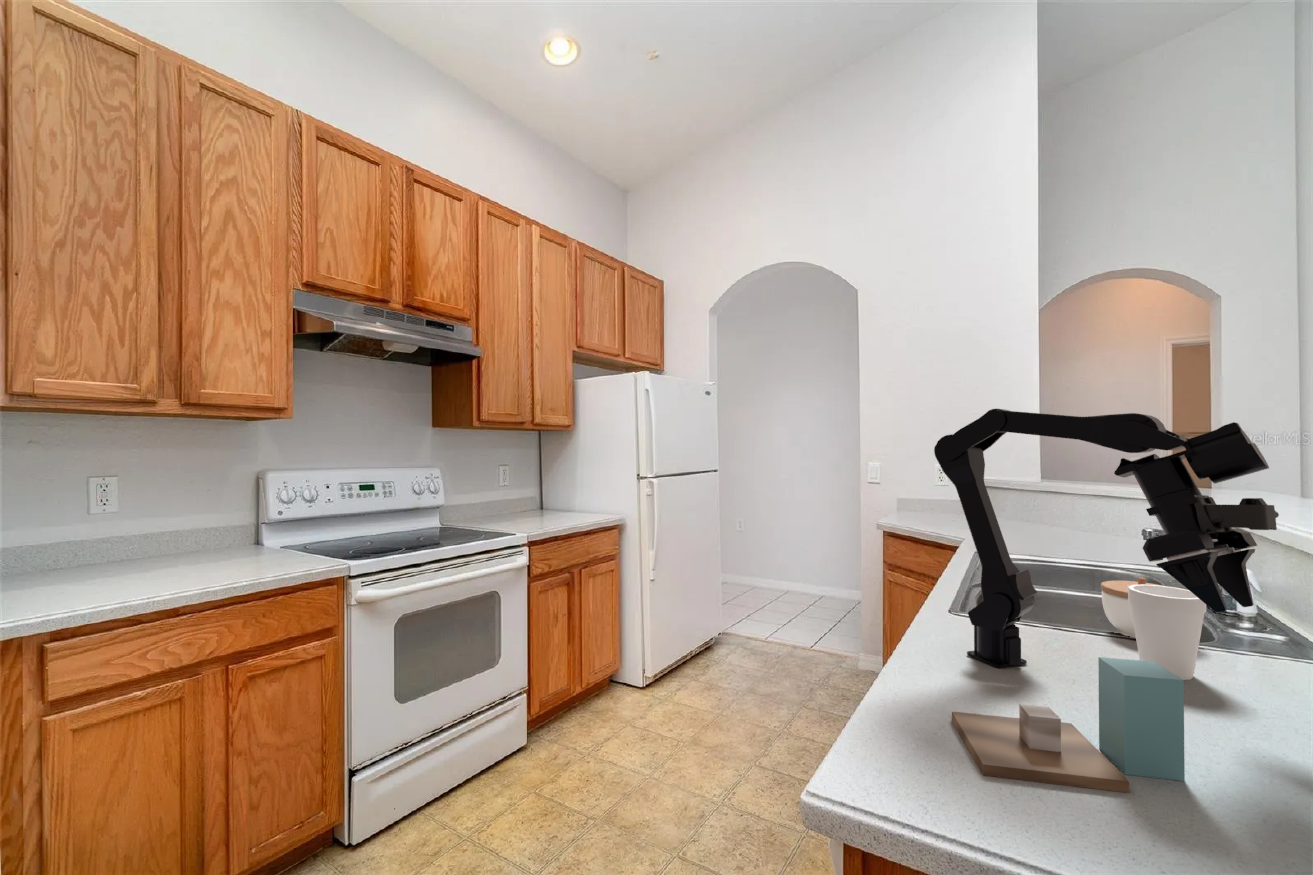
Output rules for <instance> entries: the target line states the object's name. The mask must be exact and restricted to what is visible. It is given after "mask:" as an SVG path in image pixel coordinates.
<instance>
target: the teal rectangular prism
mask: <svg viewBox="0 0 1313 875" xmlns="http://www.w3.org/2000/svg"><path fill="white" fill-rule="evenodd" d="M1097 657H1098V656H1097ZM1184 682H1185V680H1183V679H1181V678H1179V677H1178V676H1176V675H1174V674H1173V673H1171V672H1169V671H1168V670H1166V669H1165V668H1163V667H1161V666H1160V665H1158V664H1156V663H1155V662H1153V661H1142V660H1140V659H1127V658H1126V659H1125V658H1113V657H1112V658H1111V657H1098V744H1099V745H1098V748H1099V749H1098V750H1100V752H1101V753H1102V754H1104V755H1105V757H1106V758H1107V759H1109V761H1111V763H1112V764H1113V765H1114V766H1115V767H1116V768H1118V770H1119V771H1120V772H1122V774H1124V775H1129V776H1136V777H1137V776H1138V777H1145V778H1153V779H1154V778H1155V779H1161V780H1162V779H1164V780H1173V781H1182V782H1185V774H1186V773H1185V772H1186V771H1185V769H1186V768H1185V687H1184V686H1185V685H1184Z"/></svg>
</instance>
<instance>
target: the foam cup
mask: <svg viewBox="0 0 1313 875" xmlns="http://www.w3.org/2000/svg"><path fill="white" fill-rule="evenodd" d="M1160 585H1161V584H1157V585H1145V584H1142V585H1131V586H1128V601H1129V602H1130V605H1131V611H1132V617H1133V623H1134V629H1135V635H1136V646H1137V653H1138V658H1139V659H1138V660H1142V661H1153V662H1155V663H1156V664H1158V665H1160V666H1161V667H1163V668H1165V669H1166V670H1168V671H1169V672H1171V673H1173V674H1174V675H1176V676H1178V677H1179V678H1181V679H1183V680H1184V681H1188V680H1189V681H1190V680H1192V679H1194V674H1195V670H1196V665H1197V658H1198V653H1199V648H1200V641H1201V640H1200V639H1201V635H1202V628H1203V624H1204V619H1205V618H1204V617H1205V613H1207V605H1206V604H1205V603H1204V602H1203V601H1201V600H1200V599H1199V598H1198V597H1197V596H1195V595H1194V594H1193V593H1192V592H1191V591H1189V590H1188V589H1187V588H1186V589H1185V588H1179V587H1174V586H1166V585H1163V586H1160Z"/></svg>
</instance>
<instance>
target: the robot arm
mask: <svg viewBox="0 0 1313 875" xmlns="http://www.w3.org/2000/svg"><path fill="white" fill-rule="evenodd" d="M1006 433H1012V434H1013V433H1014V434H1021V435H1024V434H1025V435H1032V436H1039V437H1040V436H1041V437H1050V438H1051V437H1053V438H1060V439H1069V440H1077V441H1078V440H1080V441H1084V442H1087V443H1091V444H1093V445H1096V446H1097V445H1098V446H1101V447H1104V448H1108V449H1111V450H1116V451H1120V452H1124V453H1127V454H1128V453H1129V454H1141V453H1151V452H1154V451H1155V450H1161V451H1179V450H1182V449H1185V450H1182V451H1179V452H1176V453H1172V454H1170V455H1166V456H1162V457H1160V456H1159V455H1157V454H1156V453H1152V454H1149V455H1146V456H1144V457H1140V458H1138V459H1134V460H1129V459H1127V458H1124V457H1123V458H1121V459H1120V462H1119V465H1118V466H1117V468H1116V469H1115V470H1114V472H1113V473H1114V475H1115V476H1116V477H1117V476H1118V477H1120V478H1129V477H1132V476H1134V478H1135V479H1136V482H1137V483H1138V485H1139V487H1140V489H1141V490H1142V494H1143V495H1144V497H1145V498H1146V500H1147V502H1148V504H1149V506H1150V507H1148V508H1146V509H1145V511H1146V512H1147V514H1148V516H1150V517H1156V519H1157V522H1158V523H1159V525H1160V526H1161V528H1162V531H1163V532H1164V534H1163V535H1159V536H1154V537H1151V538H1147V539H1146V540H1145V542H1144V544H1143V546H1142V549H1143V552H1144V554H1145V556H1146V558H1147V560H1148V562H1150V563H1151V562H1159V563H1156V566H1157V567H1158V569H1159V568H1160V569H1162V570H1163V571H1164V572H1166V573H1167V574H1168V575H1169V576H1171V577H1172V578H1173V579H1175V580H1176V581H1177V582H1178V583H1179V584H1181V585H1182V586H1183V587H1184V588H1186V590H1189V591H1191V592H1192V593H1193V594H1194V595H1195V596H1197V597H1198V598H1199V599H1200V600H1201V601H1203V602H1204V603H1205V604H1206V607H1208V608H1209V609H1211V610H1212V611H1213V612H1214V613H1225V612H1227V606H1226V603H1225V600H1224V596H1223V594H1222V591H1221V588H1222V589H1224V590H1225V592H1227V594H1228V595H1230V597H1231V598H1232V599H1234V600H1235V601H1236V602H1237V603H1238V604H1239V605H1240V606H1241V607H1242V608H1249V607H1253V606H1254V599H1253V595H1252V591H1251V586H1250V581H1249V577H1248V571H1247V562H1248V560H1250V558H1251V557H1252V555H1254V554H1255V551H1256V548H1254V547H1257V546H1258V544H1257V542H1256V540H1255V539H1254V537H1253V536H1252V534H1251V532H1249V531H1246V530H1243V529H1249V530H1251V531H1254V530H1255V531H1269V530H1270V531H1272V530H1273V531H1276V530H1277V529H1278V527H1277V518H1279V512H1277V511H1276V510H1275V505H1274V504H1268V503H1267V502H1266V501H1265V500H1264V498H1262V497H1254V498H1253V497H1250V498H1249V497H1243V498H1242V499H1241V500H1240V502H1239V504H1217V502H1215V501H1216V500H1214V497H1211V496H1209V495H1203V494H1202V492H1201V491H1200V488H1199V487H1198V484H1196V482H1195V480H1194V478H1193V477H1192V474H1191V473H1190V471H1189V469H1188V468H1187V466H1186V465H1185V462H1184V461H1183V460H1185V459H1186V461H1187V463H1188V465H1189V467H1190V469H1191V470H1192V472H1193V473H1194V475H1195V476H1196V477H1197V478H1198V479H1199V480H1204V479H1207V478H1209V480H1210V481H1211V482H1212V483H1213V484H1218V483H1222V482H1226V481H1229V480H1232V479H1237V478H1240V477H1244V476H1246V475H1250V474H1254V473H1258V472H1261V471H1265V470H1268V469H1270V466H1269V464H1268V462H1267V461H1266V458H1265V457H1264V455H1263V453H1262V452H1261V450H1260V448H1259V447H1258V446H1257V444H1256V443H1255V442H1252V440H1251V439H1250V437H1249V436H1248V435H1247V434H1246V432H1245V431H1244V430H1243V428H1242V427H1241V426H1240V423H1239V422H1235V421H1234V422H1230V423H1227V424H1224V425H1222V426H1220V427H1218V428H1217V429H1216V428H1215V429H1214V430H1211V431H1208V432H1205V433H1203V434H1199V435H1197V436H1193V437H1191V438H1187V437H1185V435H1184V434H1177V433H1176V432H1173V431H1169V430H1167V428H1166V427H1165V425H1164V423H1163V422H1162V421H1161V420H1160V419H1158V418H1157V417H1155V416H1152V415H1149V414H1143V413H1137V412H1135V413H1133V412H1131V413H1130V412H1129V413H1114V414H1104V415H1100V414H1099V415H1094V416H1093V415H1092V416H1089V415H1087V416H1079V415H1078V416H1077V415H1075V416H1074V415H1065V414H1064V415H1062V414H1053V413H1052V414H1051V413H1050V414H1049V413H1038V412H1027V411H1026V412H1025V411H1023V412H1022V411H1014V410H1013V411H1012V410H1009V409H1004V408H991V409H989V410H987V411H986V413H984V414H983V415H982V416H980V417H979V418H976V420H974V421H972V422H970V423H968V424H967V425H965V426H963V427H961V428H960V429H959V430H957V431H955V432H954V433H953V434H945V435H944V436H942V437H940V438H939V439H938V441H937V442H936V444H935V445H934V447H933V448H934V449H933V452H934V456H935V459H936V461H937V462H938V464H939V466H940V468H941V470H942V473H944V475H945V476H946V477H947V478H948V479H949V480H950V482H951V483H952V484H953V485H954V487H955V489H956V492H957V494H958V498H959V501H960V504H961V507H962V510H963V513H964V516H965V517H964V518H965V519H966V522H967V525H968V530H969V531H970V534H971V537H972V541H973V544H974V547H975V550H976V553H977V555H978V559H979V562H980V564H981V576H980V590H981V597H982V602H980V603H979V604H977V605H976V606H974V607H973V608H972V609H970V610H969V611H967V615H968V617H969V620H970V623H971V625H972V626H973V637H974V638H973V639H974V640H973V645H974V647H973V649H974V650H968V651H966V655H967V656H970V657H972V658H974V659H976V660H978V661H980V662H983V663H985V664H988V665H991V666H992V667H995V668H1005V667H1012V666H1020V665H1027V663H1028V662H1027V659H1024V658H1022V638H1021V637H1020V627H1018V626H1016V623H1018V622H1020V621H1022V620H1021V619H1022V617H1023V615H1026V614H1027V613H1028V612H1030V611H1031V610H1032V609H1033V607H1034V605H1035V602H1036V599H1035V595H1037V594H1038V591H1037V589H1036V588H1035V587H1034V585H1033V584H1032V583H1033V582H1032V579H1031V578H1032V577H1031V573H1030V570H1029V569H1027V568H1026V569H1023V570H1019V569H1018V567H1017V565H1016V564H1014V562H1013V560H1012V559H1011V557H1010V553H1009V551H1008V546H1007V545H1006V542H1005V539H1004V536H1003V533H1002V531H1001V527H1000V524H999V522H998V519H997V516H996V513H995V509H994V505H993V504H992V501H991V498H990V496H989V495H990V494H989V492H988V489H987V487H986V484H985V471H986V470H985V469H986V468H985V467H986V461H985V455H984V452H986V451H987V450H988V449H990V448H991V447H992V446H993V445H994V444H996V442H997V441H999V439H1000V438H1002V437H1003V436H1004V435H1005V434H1006ZM1241 528H1242V529H1241ZM1164 559H1166V560H1167V561H1163V560H1164ZM1160 561H1163V562H1160ZM1220 587H1221V588H1220Z"/></svg>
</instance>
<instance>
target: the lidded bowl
mask: <svg viewBox="0 0 1313 875" xmlns="http://www.w3.org/2000/svg"><path fill="white" fill-rule="evenodd" d="M1142 584H1145V585H1158V584H1157V583H1152V582H1147V578H1145V577H1137V581H1132V580H1106V581H1102V582H1101V583H1100V589H1101V603H1102V607H1103V612H1104V614H1105V616H1106V618H1107V619H1108V621H1109V622H1110V624H1112V626H1113V627H1114V628H1116V629H1117V630H1118V633H1119V634H1121V635H1122V636H1125V637H1128V636H1130V637H1129V638H1132V639H1136V635H1135V629H1134V623H1133V617H1132V611H1131V605H1130V602H1129V601H1128V586H1131V585H1142ZM1159 585H1160V586H1164V585H1162V584H1159Z"/></svg>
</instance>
